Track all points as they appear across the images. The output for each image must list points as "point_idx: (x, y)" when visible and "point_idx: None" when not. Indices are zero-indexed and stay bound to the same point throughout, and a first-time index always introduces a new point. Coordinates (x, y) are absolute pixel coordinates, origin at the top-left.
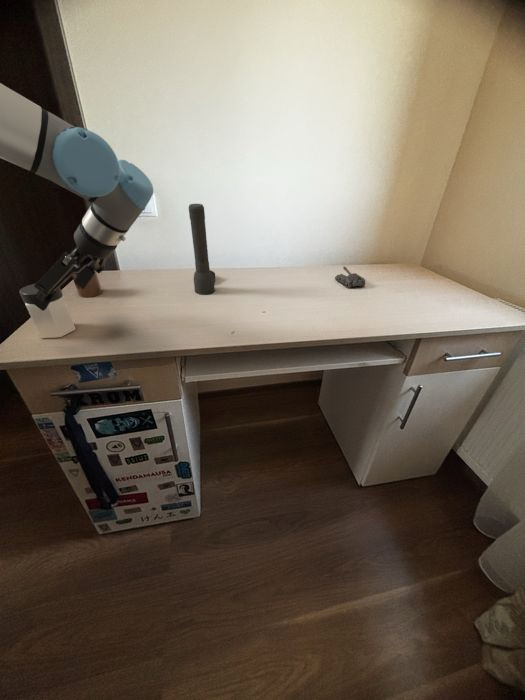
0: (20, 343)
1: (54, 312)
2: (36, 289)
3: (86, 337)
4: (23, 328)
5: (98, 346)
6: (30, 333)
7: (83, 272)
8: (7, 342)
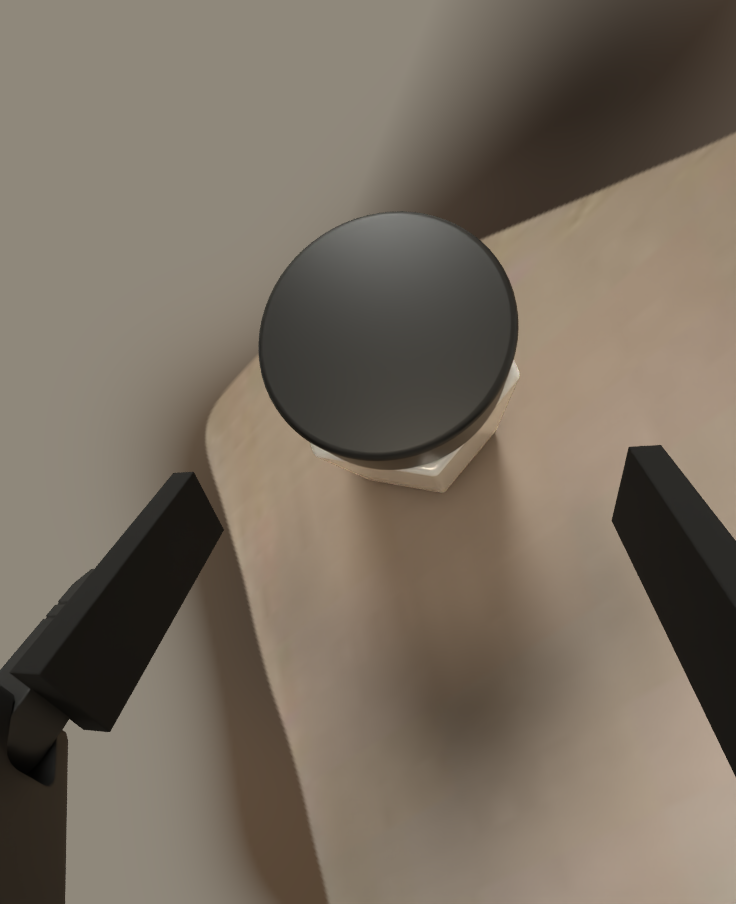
0: None
1: (355, 468)
2: (345, 334)
3: (395, 587)
4: None
5: (338, 691)
6: None
7: (717, 617)
8: None
